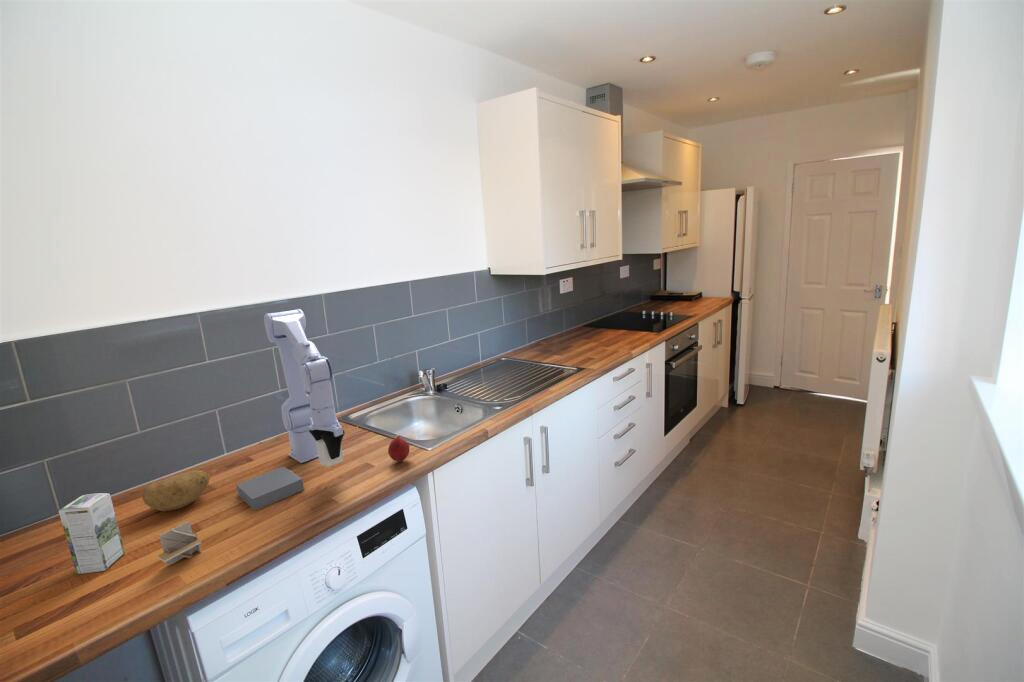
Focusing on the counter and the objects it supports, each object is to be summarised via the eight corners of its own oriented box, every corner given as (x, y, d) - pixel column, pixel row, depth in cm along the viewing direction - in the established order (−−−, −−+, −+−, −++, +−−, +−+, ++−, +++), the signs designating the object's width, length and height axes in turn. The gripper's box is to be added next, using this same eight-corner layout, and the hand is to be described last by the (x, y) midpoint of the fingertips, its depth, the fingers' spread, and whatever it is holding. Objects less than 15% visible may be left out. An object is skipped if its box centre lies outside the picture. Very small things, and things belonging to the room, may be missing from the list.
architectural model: (206, 556, 99) (198, 524, 97) (168, 577, 93) (159, 543, 92) (197, 551, 101) (190, 520, 99) (160, 571, 95) (152, 538, 93)
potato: (219, 499, 121) (212, 470, 120) (152, 525, 112) (144, 494, 110) (207, 487, 128) (201, 460, 126) (143, 511, 118) (135, 482, 116)
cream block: (319, 462, 124) (315, 441, 123) (335, 456, 128) (332, 435, 126) (327, 467, 121) (323, 445, 120) (343, 460, 124) (340, 439, 123)
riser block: (238, 495, 123) (236, 484, 122) (285, 476, 131) (283, 466, 130) (254, 510, 114) (252, 499, 114) (304, 489, 123) (302, 478, 122)
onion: (405, 467, 131) (402, 440, 129) (386, 466, 132) (382, 440, 130) (414, 457, 136) (410, 431, 135) (395, 457, 137) (391, 431, 136)
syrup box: (97, 556, 101) (79, 494, 98) (127, 553, 101) (109, 491, 98) (76, 575, 95) (55, 510, 92) (107, 571, 96) (88, 506, 93)
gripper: (294, 405, 123) (303, 453, 126) (319, 416, 113) (328, 468, 116) (321, 397, 128) (329, 444, 131) (347, 407, 118) (355, 458, 121)
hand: (330, 455), depth 124 cm, fingers closed on cream block, 4 cm apart
